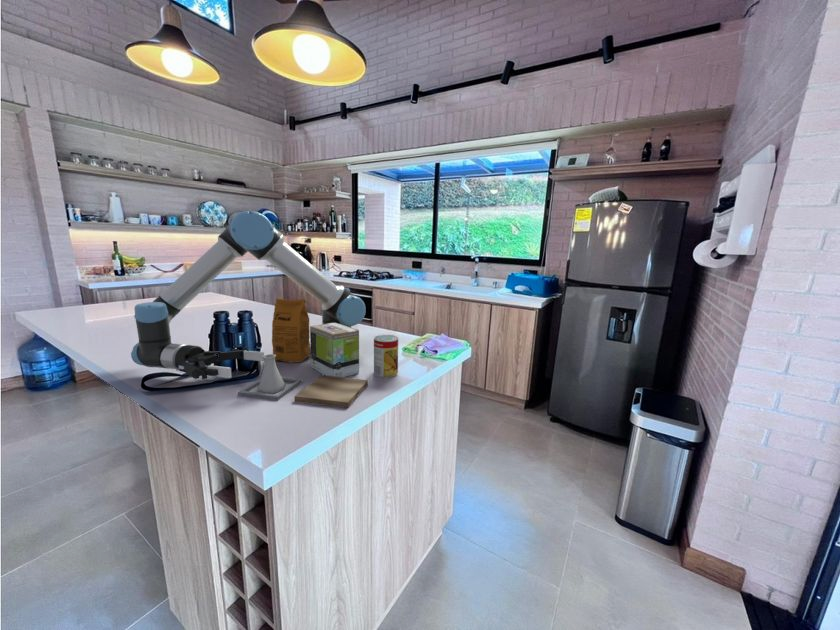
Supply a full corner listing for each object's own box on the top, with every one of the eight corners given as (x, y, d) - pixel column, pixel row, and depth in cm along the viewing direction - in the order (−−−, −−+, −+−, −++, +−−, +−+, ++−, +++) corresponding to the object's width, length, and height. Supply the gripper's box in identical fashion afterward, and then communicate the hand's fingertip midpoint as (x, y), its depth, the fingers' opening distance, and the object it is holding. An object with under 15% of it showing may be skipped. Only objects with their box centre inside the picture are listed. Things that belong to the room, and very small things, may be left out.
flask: (251, 393, 91) (249, 358, 89) (267, 382, 98) (265, 350, 96) (276, 395, 90) (274, 360, 88) (290, 384, 98) (288, 352, 95)
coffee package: (284, 352, 126) (281, 295, 122) (314, 355, 124) (312, 297, 119) (267, 361, 117) (263, 299, 112) (299, 364, 114) (296, 301, 110)
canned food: (402, 372, 110) (403, 337, 107) (387, 379, 103) (387, 342, 101) (384, 367, 114) (384, 333, 112) (368, 373, 108) (368, 338, 105)
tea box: (360, 373, 108) (360, 329, 105) (333, 381, 101) (331, 334, 98) (336, 361, 119) (335, 321, 116) (310, 367, 112) (308, 325, 109)
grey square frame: (266, 378, 101) (265, 375, 101) (301, 382, 99) (301, 379, 99) (238, 395, 90) (237, 392, 90) (277, 400, 88) (277, 396, 87)
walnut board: (321, 379, 102) (321, 375, 101) (367, 384, 99) (367, 380, 99) (294, 401, 87) (294, 396, 87) (347, 407, 85) (347, 402, 84)
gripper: (218, 356, 111) (275, 362, 107) (144, 386, 87) (214, 395, 83) (216, 334, 109) (274, 339, 105) (140, 358, 85) (211, 366, 81)
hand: (248, 364), depth 94 cm, fingers open, 13 cm apart
